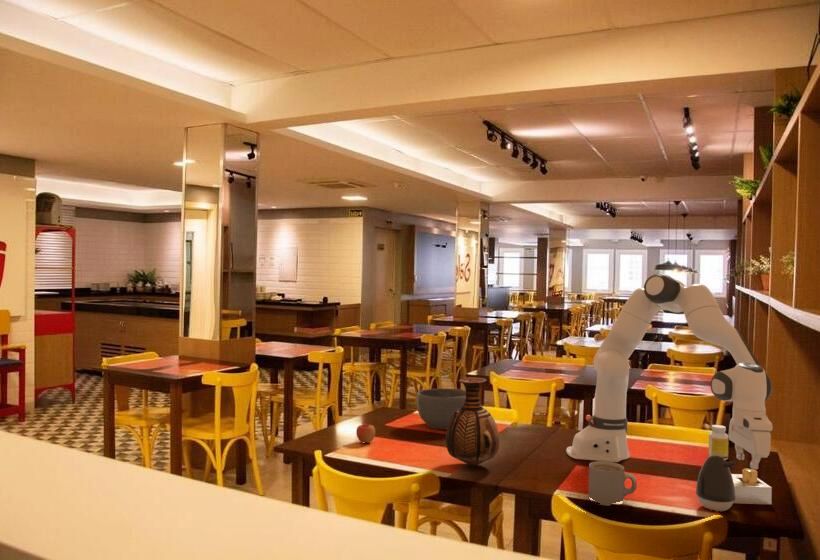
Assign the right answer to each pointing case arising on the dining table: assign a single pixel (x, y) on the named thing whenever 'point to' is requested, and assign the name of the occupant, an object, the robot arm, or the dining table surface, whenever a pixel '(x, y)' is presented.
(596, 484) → the coffee mug
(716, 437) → the pill bottle
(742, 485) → the jig block
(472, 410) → the vase
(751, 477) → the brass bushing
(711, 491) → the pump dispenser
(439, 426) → the bowl
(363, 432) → the apple
